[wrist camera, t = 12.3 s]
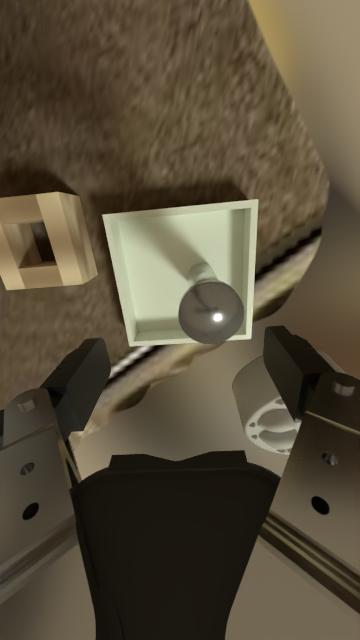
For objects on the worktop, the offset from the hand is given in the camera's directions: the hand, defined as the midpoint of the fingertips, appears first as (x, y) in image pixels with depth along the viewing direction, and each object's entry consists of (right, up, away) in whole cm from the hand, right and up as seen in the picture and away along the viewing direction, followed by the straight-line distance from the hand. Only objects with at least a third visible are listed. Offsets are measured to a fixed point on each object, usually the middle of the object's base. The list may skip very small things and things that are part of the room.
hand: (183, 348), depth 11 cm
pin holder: (-14, +10, +13) cm, 22 cm away
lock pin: (+2, +6, +14) cm, 15 cm away
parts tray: (0, +6, +14) cm, 16 cm away
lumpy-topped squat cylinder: (+14, -7, +20) cm, 26 cm away
